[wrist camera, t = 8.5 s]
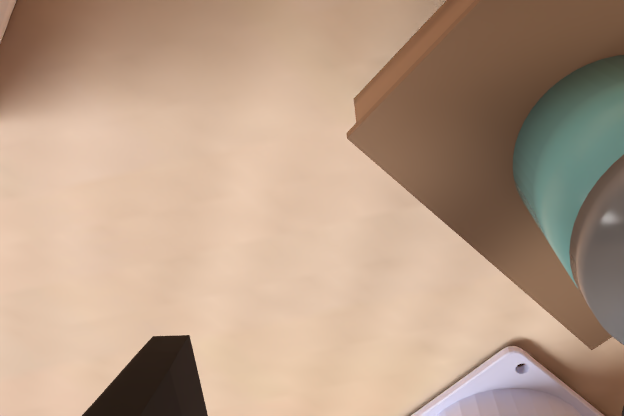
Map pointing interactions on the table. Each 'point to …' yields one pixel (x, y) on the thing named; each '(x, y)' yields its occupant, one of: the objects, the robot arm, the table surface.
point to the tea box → (486, 126)
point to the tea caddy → (580, 181)
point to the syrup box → (5, 14)
